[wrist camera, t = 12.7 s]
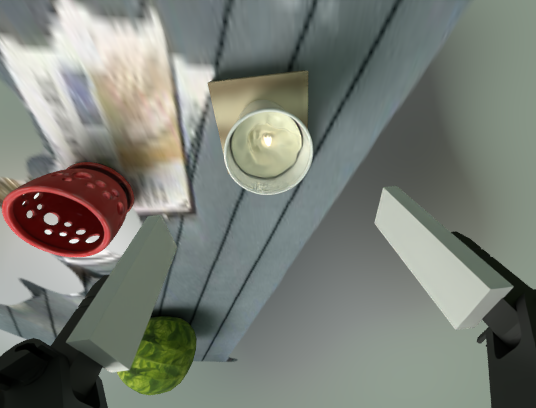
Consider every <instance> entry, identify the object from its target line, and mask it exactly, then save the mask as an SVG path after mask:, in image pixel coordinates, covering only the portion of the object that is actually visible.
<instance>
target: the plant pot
mask: <svg viewBox="0 0 536 408" xmlns="http://www.w3.org/2000/svg"><path fill="white" fill-rule="evenodd" d="M25 193H26V194H25ZM37 193H39V196H38V197H37V198H36V199H34V196H35V195H36V194H37ZM23 194H24V195H23ZM24 201H25V203H24V204H23V202H24ZM133 203H134V194H133V191H132V188H131V186H130V185H129V183H128V182H127V181H126V179H125V178H124V177H123V176H122V175H120V174H119V173H118V172H116V171H115V170H113V169H111V168H109V167H107V166H104V165H102V164H98V163H92V162H82V163H77V164H74V165H72V166H70V167H68V168H67V169H66V170H61V171H57V172H53V173H49V174H46V175H44V176H41V177H39V178H36V179H34V180H32V181H30V182H28V183H26V184H24V185H22V186H20V187H18V188H17V189H15V190H13V191H12V192H10V193H9V194H8V195H7V196H6V198H5V199H4V201H3V205H2V213H3V216H4V219H5V221H6V223H7V224H8V226H9V227H10V228H11V230H12V231H13V232H14V233H15V234H16V235H18V236H19V237H20V238H21V239H23V240H24V241H26V242H27V243H29V244H31V245H32V246H34V247H37V248H38V249H41V250H43V251H46V252H49V253H52V254H56V255H60V256H66V257H86V256H91V255H94V254H96V253H99V252H100V251H102V250H103V249H105V248H106V247H107V246H108V245H109V243H110V242H111V241H112V240H113V238H114V237H115V235H116V234H117V233H118V231H119V229H120V228H121V226H122V224H123V222H124V220H125V217H126V214H127V212H128V211H130V209H131V208H132V206H133ZM22 204H23V205H22ZM39 204H41V205H42V208H41V209H40V210H38V209H37V205H39ZM29 210H31V211H32V213H33V216H32V217H31V218H27V215H26V214H27V212H28V211H29ZM47 213H53V214H55V215H56V216H57V217H58V223H57V224H56V225H49V224H47V223H45V222H44V215H45V214H47ZM66 222H69V223H71V226H70V227H66V226H65V225H64V223H66ZM45 230H50V231H51V232H52V234H50V235H47V234H46V233H45V232H44V231H45ZM78 230H85V231H86V232H85V233H84V234H82V235H78V234H76V231H78ZM62 232H64V233H66V234H67V235H66V236H60V235H59V234H60V233H62ZM96 235H98V236H100V237H99V239H98V240H96V241H95V242H93V243H86V242H85V241H86V240H87V239H88V238H89V237H91V236H96ZM71 239H78V240H79V242H77V243H74V244H72V243H69V241H70V240H71Z"/></svg>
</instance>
